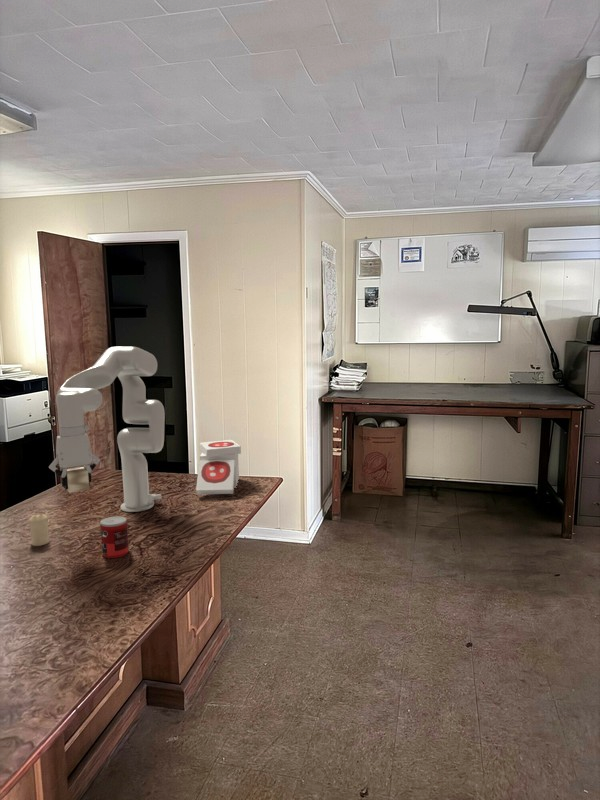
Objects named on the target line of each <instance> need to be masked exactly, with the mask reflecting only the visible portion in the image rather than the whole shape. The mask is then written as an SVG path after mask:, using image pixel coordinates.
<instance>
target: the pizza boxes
mask: <svg viewBox="0 0 600 800" xmlns="http://www.w3.org/2000/svg"><path fill="white" fill-rule="evenodd" d="M199 451H201V454H200V455H199V461H198V469H197V478H196V479H197V480H196V487H195V490H196V491H195V492H196V495H233V494H234V490H235V489H234V488H235V487H236V486H238V484H239V481H238V480H240V471H239V465H240V464H239V454H240V455H241V454H242V448H241V445H240V444H239V443H237V442H236V441H235V440H233V439H224V440H214V441H213V440H212V441H205V442H204V441H203V442H202V441H201V442H199ZM237 483H238V484H237ZM236 488H237V487H236Z"/></svg>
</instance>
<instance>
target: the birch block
mask: <svg viewBox="0 0 600 800" xmlns="http://www.w3.org/2000/svg"><path fill="white" fill-rule="evenodd" d="M66 477H67V481H68V489H67V490H66V491H67V492H68V493H69V494H71V493H77V492H82V491H87V490H90V485H89V478H88V471H87V470H86V469H85V467H84V466H79V467H73V468H68V469H67V473H66Z"/></svg>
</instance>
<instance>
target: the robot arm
mask: <svg viewBox="0 0 600 800" xmlns="http://www.w3.org/2000/svg"><path fill="white" fill-rule="evenodd" d="M157 371H158V360H157V358H156V357H155V355H154V354H153V353H151V352H149V351H147V350H144V349H142V348H140V347H139V346H138V347H137V346H111V347H108V348H107V349H106V350H105V351H104V352H103V353H102V354H101V355H100V356H99V358H98V359H97V361H96V362H95V363H94V364H93V365H92V366H91V367H89V368H86V369H85V370H83V371H80V372H79V373H76V374H74V375H72V376H70V377H69V378H68V379H66V380H65V382H63V384H61V386H60V387H59V389H58V391H57V393H56V395H55V404H56V407H57V408H56V410H57V421H58V431H59V435H57V436H56V442H55V444H56V445H55V454H56V455H55V459H53V460H52V462H51V463H50V464H49V466H48V468H49V469H50V470H51V471H52V472H54V473H55V474H56V475H59V476H60V478H61V480H60V481H61V487H64V489H65V490H66V491H67V489H68V481H67V477H66V473H67V469H74V468H80V467H84V468H85V469H86V470H87V471H88V478H89V486H91V483H92V472H93V471H94V469H95V468H96V467H97V465H98V464H99V463H100V462H101V458H99V457H98V456H97V455H95V454H94V453H92V447H91V442H90V437H89V435H88V433H87V431H88V430H89V431H90V430H91V428H90V425H87V424H86V423H85V416H84V415H85V414H84V413H85V412H94V411H96V410H98V409H100V407H101V406H102V404H103V394H102V392H101V391H99V390H100V389H102V388H107V387H108V386H110V385H111V384H113V383H114V381H115V379H116V378H118V380H119V381H120V383H121V387H122V419H123V421H124V423H126V424H130V425H131V424H132V425H148V427H126V428H123V429H121V430H120V431H119V432H118V434H117V436H116V437H117V438H116V439H117V440H116V442H117V445H118V450H119V453H120V454H119V455H120V459H121V461H120V462H121V472H122V474H121V475H122V486H123V503H121V505H120V506H119V507H120V510H121V511H123V512H126V513H127V512H128V513H134V512H135V513H138V512H145V511H147V510H149V509H151V508H153V507H154V505H155V502H154V501H155V500H161V499H162V497H163V496H162V494H161V493H158V494H157V493H150V488H149V473H148V461H147V459H146V456H145V455H144V454H150V453H151V454H153V453H154V454H157V453H160V452H161V451H162V449H163V448H164V442H165V424H166V423H165V422H166V421H165V415H166V412H165V407H164V405H163V403H162V402H161V401H160V400H158V399H147V397H146V394H147V393H146V391H147V389H146V385H145V383H144V381H143V379H142V378H141V377H152V376H153V375H155V374H156V373H157ZM56 466H58V467H59V468H60V469H59V468H57V467H56Z"/></svg>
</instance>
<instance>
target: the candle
mask: <svg viewBox="0 0 600 800" xmlns="http://www.w3.org/2000/svg"><path fill="white" fill-rule="evenodd" d="M28 521H29V531H30V541H31V545H32V546H34V547H39V546H45V545H47V544H49V543H50V531H49V529H50V528H49V520H48V516H47V515H46V514H44V513H37V512H36V513H34V514H32V516H31V517H30V518H29V519H28Z"/></svg>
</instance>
